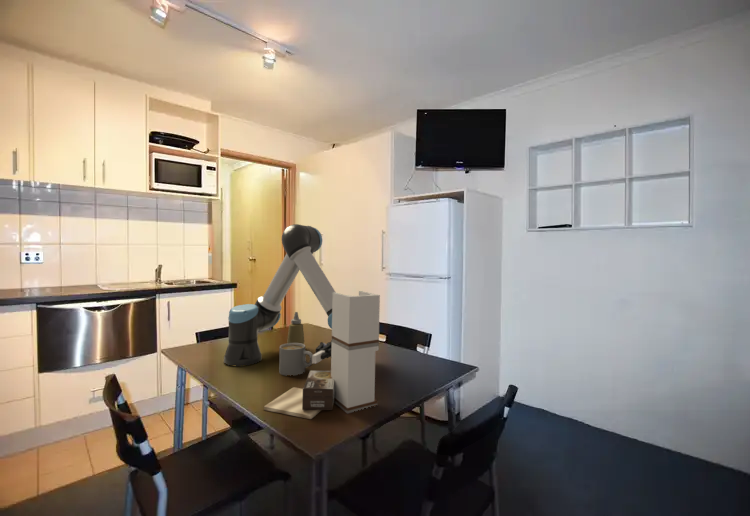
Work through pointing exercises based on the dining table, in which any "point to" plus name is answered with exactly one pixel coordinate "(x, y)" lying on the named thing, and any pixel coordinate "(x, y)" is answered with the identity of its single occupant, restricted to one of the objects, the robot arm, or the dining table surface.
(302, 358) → the coffee mug
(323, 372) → the coffee box
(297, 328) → the squeeze bottle
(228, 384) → the dining table surface
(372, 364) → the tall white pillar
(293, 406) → the birch board
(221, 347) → the dining table surface
